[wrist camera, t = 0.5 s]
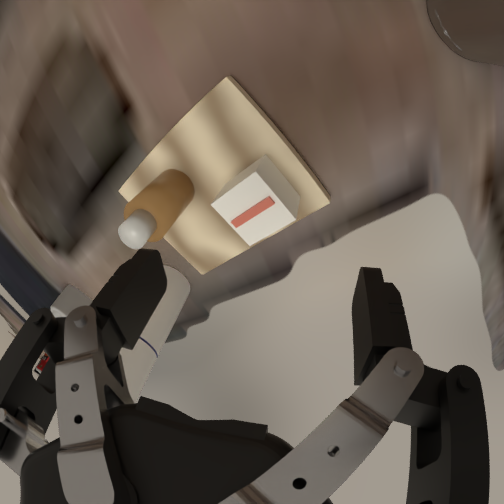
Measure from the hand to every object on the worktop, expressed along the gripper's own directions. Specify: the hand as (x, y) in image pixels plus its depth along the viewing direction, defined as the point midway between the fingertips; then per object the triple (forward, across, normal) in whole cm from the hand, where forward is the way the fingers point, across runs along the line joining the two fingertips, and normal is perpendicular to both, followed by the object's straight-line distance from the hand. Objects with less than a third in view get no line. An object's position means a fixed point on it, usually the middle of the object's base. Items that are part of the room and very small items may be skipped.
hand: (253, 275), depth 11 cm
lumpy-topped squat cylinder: (+23, +46, +35) cm, 62 cm away
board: (+20, +9, +5) cm, 23 cm away
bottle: (+19, +13, +5) cm, 23 cm away
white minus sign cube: (+19, +3, +5) cm, 19 cm away
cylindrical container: (+22, +19, +22) cm, 36 cm away
